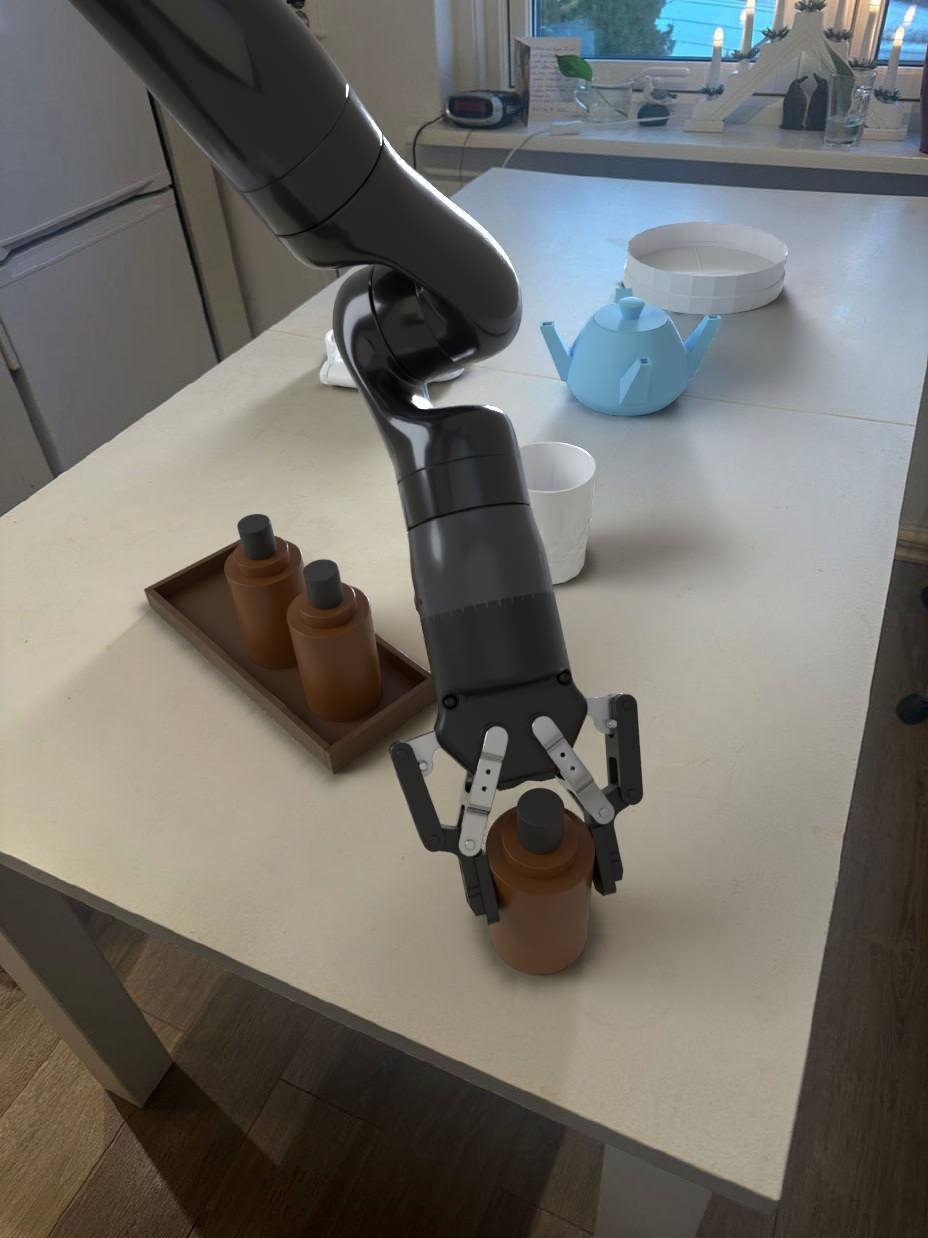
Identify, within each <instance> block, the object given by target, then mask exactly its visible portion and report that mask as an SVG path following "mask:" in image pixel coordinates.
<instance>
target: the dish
mask: <svg viewBox="0 0 928 1238" xmlns="http://www.w3.org/2000/svg"><path fill="white" fill-rule="evenodd" d="M788 254H789V252H788V246H787V245H786V243H785V242H784V241H783V240H782V239H781V238H779V237H777V236H775V235H773V234H772V233H770V232H767V231H764V230H761V229H759V228H755V227H751V226H747V225H742V224H736V223H727V222H718V221H717V222H716V221H689V222H677V223H670V224H664V225H660V226H656V227H655V226H654V227H652V228H649V229H648V228H647V229H646V230H644V231H642V232H640V233H638V234H635V235H634V236H633V237H632V238H631V239H630V240H629V241H628V244H627V248H626V261H625V264H624V268H623V270H624V271H623V287H624V288H632V293H633V297H637V298H641V299H643V300H644V301H645V304H650V305H653V306H656V307H658V308H661V309H662V310H664V311H668V312H674V313H681V314H687V315H704V316H705V315H731V314H736V313H741V312H747V311H752V310H756V309H758V308H761V307H764V306H767V305H768V304H770V303H772V302H773V301H774V300H777V298H778V297H779V296H780V294H781V292H782V291H783V286H784V281H785V276H786V264H787V259H788Z"/></svg>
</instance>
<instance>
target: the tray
mask: <svg viewBox="0 0 928 1238" xmlns="http://www.w3.org/2000/svg"><path fill="white" fill-rule="evenodd" d="M239 544H241V539H240V538H239V539H238V540H236V541H234V542H232V543H230V544H228V545H226V546H224V547H222V548H220V549H219V550H217V551H215V552H212V553H210V554H208V555H207V556H205V557H203V558H201V559H199V560H197V561H195V562H194V563H192V564H189V565H187V566H185V567H183V568H182V569H179V570H177V571H176V572H174V573H172V574H170V575H168V576H166V577H165V578H163V579H160V580H159V581H157V582H155V583H153V584H151V585H149V586H147V587H145V588H144V589H143V592H144V594H145V598H146V600H147V602H148V605H149V607H150V609H151V610H152V611H154V612H155V613H156V614H157V615H158V616H159V617H160V618H161V619H163V620H164V621H165V623H167V624H168V625H169V626H170V627H171V628H172V629H173V630H174V631H176V632H177V633H178V634H179V635H180V636H181V637H182V638H183V639H185V641H187V642H188V643H189V645H191V646H192V647H193V648H194V649H195V650H196V651H197V652H199V653H200V654H201V656H203V657H204V658H205V659H207V661H209V662H210V663H211V664H212V665H213V667H215V668H216V669H217V670H218V671H220V672H221V673H222V674H223V675H224V676H225V677H226V678H227V679H228V680H230V681H231V682H232V683H233V684H234V685H235V686H236V687H237V688H238V689H239V690H240V691H242V692H243V693H244V694H245V695H246V696H247V697H248V698H250V700H252V701H253V702H254V704H256V705H257V706H258V707H259V708H260V709H262V711H264V712H265V713H266V714H267V715H268V716H269V717H270V718H271V719H272V720H274V721H275V723H277V724H278V725H279V726H280V727H281V728H283V730H284V731H285V732H286V733H288V734H289V735H290V736H291V737H292V738H293V739H294V740H296V741H297V742H298V743H299V744H300V745H301V746H302V747H303V748H304V749H305V750H307V752H308V753H310V754H311V755H312V756H313V757H315V759H316V760H317V761H318V762H319V763H321V764H322V765H323V766H324V767H325V768H326V769H327V770H329V772H331V773H332V774H333V775H334V774H336V773H338V772H339V771H340V770H342V769H343V768H345V767H346V766H347V765H349V764H350V763H351V762H353V761H354V760H355V759H357V758H358V757H360V756H361V755H362V754H364V753H365V752H366V751H368V750H369V749H371V748H372V747H373V746H375V745H376V744H378V742H380V741H382V740H383V739H384V738H386V737H387V736H389V735H390V734H391V733H392V732H394V731H395V730H397V729H398V728H400V727H402V725H404V724H405V723H407V722H408V721H410V719H412V718H414V717H415V716H416V715H418V714H419V713H420V712H423V710H424V709H426V708H427V707H429V706H430V705H432V704H433V703H434V702H437V700H436V695H435V690H434V686H433V681H432V676H431V671H429V670H427V669H426V668H424V666H422V665H420V664H419V663H417V662H416V661H415V660H414V659H412V658H411V657H409V656H408V655H407V654H405V653H404V652H403V651H401V650H400V649H398V648H397V647H396V646H394V645H393V644H392V643H390V642H389V641H387V640H386V639H385V638H383V637H382V636H380V635H379V634H378V633H377V632H375V631H374V633H375V640H376V646H377V653H378V659H379V666H380V672H381V679H382V685H383V694H382V698H381V700H380V702H379V704H378V705H377V706H376V707H375V708H374V709H373V710H372V711H371V712H370V713H368V714H367V715H365V716H363V717H361V718H359V719H356V720H353V721H348V722H331V721H327V720H324V719H322V718H320V717H318V716H316V715H315V714H314V713H313V712H312V711H311V710H310V708H309V706H308V704H307V700H306V696H305V692H304V688H303V683H302V679H301V675H300V671H299V667H298V665H296V666H294V667H290V668H285V669H269V668H265V667H262V666H260V665H258V664H256V663H255V662H254V661H253V660H252V659H251V658H250V656H249V654H248V650H247V647H246V643H245V640H244V636H243V633H242V629H241V626H240V622H239V619H238V616H237V612H236V609H235V605H234V602H233V598H232V595H231V591H230V588H229V585H228V581H227V578H226V574H225V571H224V567H225V563H226V560H227V559H228V557H229V556H230V555H231V554H232V553H233V552H234V551H235V549H236V548H237V546H238V545H239Z"/></svg>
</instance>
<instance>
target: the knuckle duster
mask: <svg viewBox="0 0 928 1238" xmlns="http://www.w3.org/2000/svg"><path fill="white" fill-rule="evenodd" d="M324 344H325V349H326V350H325V351H326V355H327V359H326V360H325V361H324V362H323V364H322V366H321V368H320V370H319V371H320V372H319V381H320V383H321V384H323V385H328V386H340V387H345V388H346V387H347V388H353V389H357V387H356V385H355V383H354V381H353V379H352V377H351V376H350V374H349V372H348V370H347V368H346V366H345V364H344V362H343V360H342V358H341V355H340V353H339V351H338V348H337V345H336V342H335V338H334V334H333V328H331V329H330V330H329V331H327V332H326V333H325V336H324ZM464 371H465V368H463V369H460V370H458V371H455V372H453V373H450V374H447V375H445V376H442V377H440V378H437V379H435V380H432V381H429V382H427V384H430V383H433V382H445V381H451V380H453V379H456V378H457V377H459V376H460V375H462V374H463V372H464Z"/></svg>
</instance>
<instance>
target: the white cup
mask: <svg viewBox="0 0 928 1238" xmlns="http://www.w3.org/2000/svg"><path fill="white" fill-rule="evenodd" d="M519 451H520V455H521V461H522V465H523V470H524V475H525V479H526V484H527V489H528V494H529V498H530V503H531V506H530V507H531V508H532V511H533V515H534V518H535V521H536V524H537V527H538V530H539V532H540V535H541V538H542V541H543V544H544V548H545V551H546V556H547V560H548V565H549V569H550V574H551V579H552V584H553V585H557V584H562V583H566V582H568V581H569V580H572V579H573V578H575V577H577V576H578V575H579V574H580V573H581V571H582V569H583V567H584V565H585V560H586V550H587V549H586V548H587V542H588V539H589V535H590V525H591V519H592V511H593V503H594V495H595V486H596V477H597V469H598V468H597V467H598V466H597V462H596V460H595V459H594V457H593V456H592V455H591V454H590V453H589V452H588V451H586V450H584V449H583V448H581V447H579V446H576V445H573V444H571V443H565V442H560V441H537V442H532V443H527V444H524V445H521V446H519Z"/></svg>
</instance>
